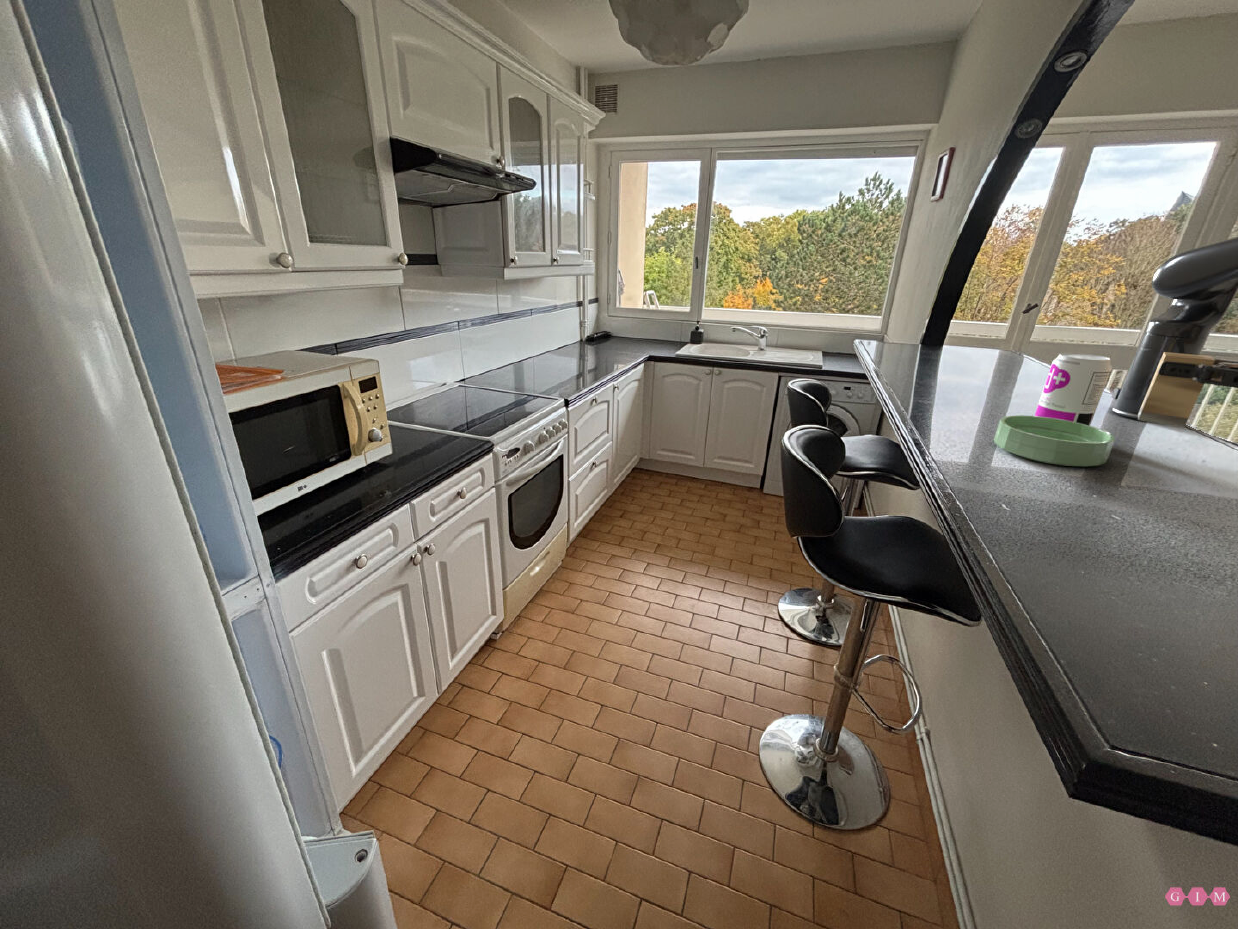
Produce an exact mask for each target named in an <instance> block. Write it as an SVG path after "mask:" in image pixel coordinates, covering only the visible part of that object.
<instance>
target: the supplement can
mask: <svg viewBox="0 0 1238 929" xmlns="http://www.w3.org/2000/svg"><path fill="white" fill-rule="evenodd" d="M1112 370H1113V367H1112V364H1111V358H1110V357H1107V356H1102V355H1096V354H1087V353H1076V352H1075V353H1074V352H1062V353H1061V352H1060V353H1059V354H1058V356H1057V357H1056V358H1055V359H1054V360H1052V363H1051V366H1050V369H1049V371H1048V374H1047V378H1046V380H1045V383H1044V386H1043V389H1042V393H1041V395H1040V398H1039V401H1038V404H1037V407H1036V410H1035V413H1034V416H1040V417H1049V418H1056V419H1062V420H1068V421H1072V422H1077V423H1081V424H1086V425H1089V426H1092V425H1091V424H1092V421H1093V419H1094V416H1095V414H1096V411H1097V409H1098V406H1099V403H1100V402H1101V398H1102V395H1103V392H1104V390H1105V389H1106V385H1107V383H1108V381H1109V380H1108V379H1109V377H1110V375H1111V372H1112Z"/></svg>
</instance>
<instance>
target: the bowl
mask: <svg viewBox="0 0 1238 929" xmlns="http://www.w3.org/2000/svg"><path fill="white" fill-rule="evenodd" d="M993 438H994V439H993V442H994V444H995V445H996V446H998V448H1001V449H1003V450H1005V451H1007V452H1009V453H1012V454H1014V455H1016V456H1018V457H1021V458H1023V459H1026V460H1027V459H1028V460H1032V461H1035V462H1040V463H1044V464H1050V465H1054V466H1063V467H1097V466H1101V465H1104V464H1106V463H1107V461H1108V459H1109V456H1110V454H1111V451H1112V449H1113V446H1114V444H1115V442H1116V437H1115V436H1114V435H1113V434H1112V433H1111V432H1108V431H1106V430H1104V429H1101V428H1098V427H1095V426H1092V425H1090V426H1089V425H1086V424H1081V423H1077V422H1072V421H1068V420H1062V419H1056V418H1049V417H1040V416H1035V415H1024V414H1022V415H1021V414H1020V415H1017V414H1016V415H1007V416H1003V417H1001V418H1000V420H999V421H998V425H997V429H996V431H995V434H994V437H993Z"/></svg>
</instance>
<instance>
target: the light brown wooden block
mask: <svg viewBox="0 0 1238 929" xmlns="http://www.w3.org/2000/svg"><path fill="white" fill-rule="evenodd" d="M1215 359H1216V358H1214V357H1213V356H1212V355H1203V354H1202V355H1201V354H1200V355H1191V354H1180V353H1169V352H1164V353H1163V356H1162V358H1161V360H1160V363H1159V365H1158V368H1157V370H1156V372H1155V375H1154V377H1153V380H1152V382H1151V384H1150V387H1149V389H1148V391H1147V394H1146V396H1145V399H1144V401H1143V403H1142V406H1141V408H1140V410H1139V413H1138V419H1137V420H1138V421H1141V422H1147V423H1148V422H1149V423H1153V424H1161V425H1167V426H1173V427H1174V426H1175V427H1180V428H1185V427H1186V424H1187V423H1188V420H1189V418H1190V416H1191V414H1192V411H1193V409H1194V407H1195V405H1196V403H1197V401H1198V398H1199V397H1200V395H1201V392H1202V390H1203V388H1204V386H1205V384H1202V383H1200V382H1198V381H1194V380H1191V378H1192V377H1190V378H1181V377H1172V376H1163V375H1160V374H1159V373H1158V371H1159V369H1160V366H1161V364H1162V363H1163V362H1165V361H1169V362H1180V363H1190V364H1196V366H1195V367H1197V365H1198V364H1206V365H1213V364H1214V362H1215Z"/></svg>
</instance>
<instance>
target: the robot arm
mask: <svg viewBox="0 0 1238 929" xmlns="http://www.w3.org/2000/svg"><path fill="white" fill-rule="evenodd" d="M1151 287H1152V289H1153V291H1154V292H1155V293H1156V294H1157V295H1159V296H1160V297H1163V298H1166V299H1169V300H1172V301H1171V304H1170V305H1169V307H1168V308H1167V309H1165V311H1163V312H1162V313H1160V314H1158V315H1157V316H1154V317H1152V318H1151V319H1149V320H1148V322H1147V323H1146V325H1145V327H1144V331H1143V332H1142V336H1141V338H1140V341H1139V343H1138V346H1137V348H1136V351H1135V354H1134V356H1133V359H1132V361H1131V363H1130V366H1129V369H1128V371H1127V373H1126V376H1125V379H1124V381H1123V383H1122V387H1114V389H1113V392H1112V394H1111V398H1112V399H1113V400H1116V401H1115V404H1114V406H1113V407H1112V410H1111V412H1112V413H1113V414H1115V415H1118V416H1121V417H1125V418H1129V419H1134V420H1138V413H1139V410H1140V408H1141V406H1142V403H1143V401H1144V399H1145V396H1146V394H1147V391H1148V389H1149V387H1150V384H1151V382H1152V380H1153V377H1154V375H1155V372H1156V370H1157V368H1158V365H1159V363H1160V360H1161V358H1162V356H1163V353H1164V352H1169V353H1180V354H1191V355H1201V354H1202V352H1203V350H1204V347H1205V345H1206V343H1207V340H1208V338H1209V336H1210V334H1211V332H1212V330H1213V329H1214V328H1215V327H1216V326H1217V325H1218V324H1219V323H1220V322H1221V321H1222V320H1223V319H1224V316H1225V315H1226V313H1227V311H1228V309H1229V307H1230V305H1231V303H1232V302H1233V299H1234V297H1235V295H1236V294H1237V292H1238V236H1236V237H1232V238H1228V239H1226V240H1225V239H1224V240H1222V241H1219V242H1214V243H1210V244H1207V245H1204V246H1203V245H1202V246H1200V247H1196V248H1192V249H1188V250H1185V251H1182V252H1178V253H1177V254H1175V255H1173V256H1171V257H1170V258H1168V259H1166V260H1165V261H1164V262H1163V263H1162V264H1161V265H1159V267H1157V269H1156V270H1155V272H1154V274H1153V276H1152V278H1151ZM1214 359H1215V362H1214V364H1213V365H1206V364H1198V365H1197V367H1195V366H1196V364H1190V363H1180V362H1169V361H1165V362H1163V363H1162V364H1161V366H1160V369H1159V371H1158V373H1159V374H1160V375H1163V376H1172V377H1181V378H1190V377H1192V378H1191V380H1194V381H1198V382H1200V383H1202V384H1204V385H1205V384H1208V385H1213V386H1218V387H1227V388H1234V389H1238V360H1235V359H1228V358H1214Z"/></svg>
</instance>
